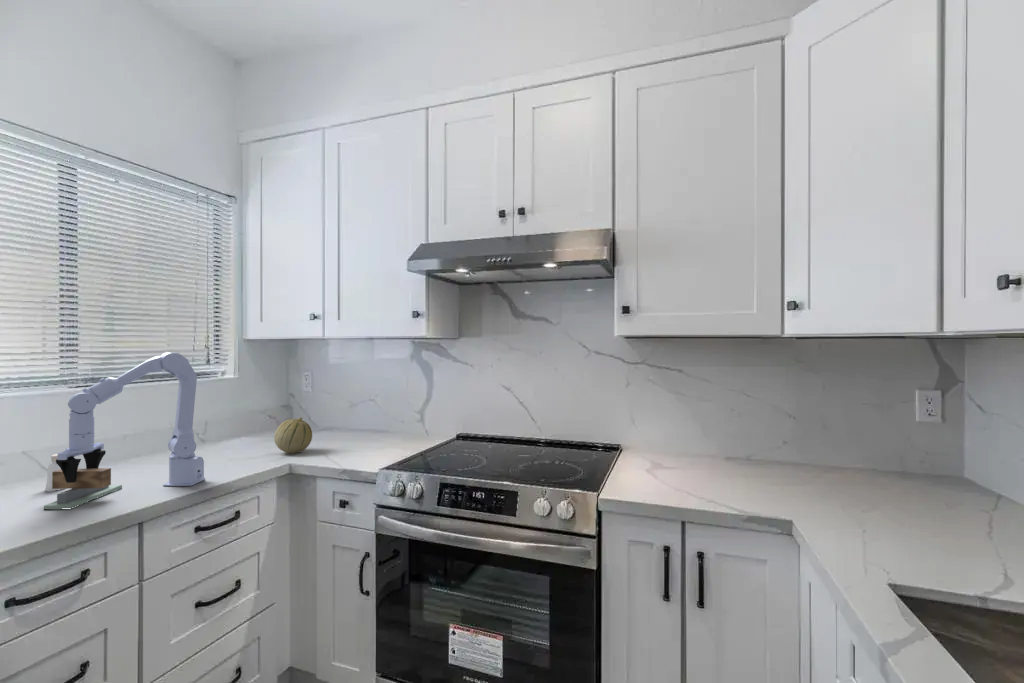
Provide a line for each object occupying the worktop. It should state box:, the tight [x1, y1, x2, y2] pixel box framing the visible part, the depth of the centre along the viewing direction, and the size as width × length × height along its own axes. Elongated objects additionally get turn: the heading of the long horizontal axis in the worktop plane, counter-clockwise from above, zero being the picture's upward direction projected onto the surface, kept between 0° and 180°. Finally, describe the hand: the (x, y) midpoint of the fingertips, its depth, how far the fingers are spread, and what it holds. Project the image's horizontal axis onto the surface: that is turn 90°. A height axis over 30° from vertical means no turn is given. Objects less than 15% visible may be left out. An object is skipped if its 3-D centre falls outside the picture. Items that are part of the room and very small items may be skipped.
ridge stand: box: [43, 484, 123, 510], centre depth 149 cm, size 7×20×4 cm, turn 3°
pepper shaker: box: [44, 453, 61, 492], centre depth 159 cm, size 5×5×11 cm
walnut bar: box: [52, 467, 112, 490], centre depth 148 cm, size 14×4×5 cm, turn 93°
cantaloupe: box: [273, 417, 313, 454], centre depth 211 cm, size 15×15×15 cm
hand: (81, 478), depth 148 cm, fingers open, 7 cm apart
